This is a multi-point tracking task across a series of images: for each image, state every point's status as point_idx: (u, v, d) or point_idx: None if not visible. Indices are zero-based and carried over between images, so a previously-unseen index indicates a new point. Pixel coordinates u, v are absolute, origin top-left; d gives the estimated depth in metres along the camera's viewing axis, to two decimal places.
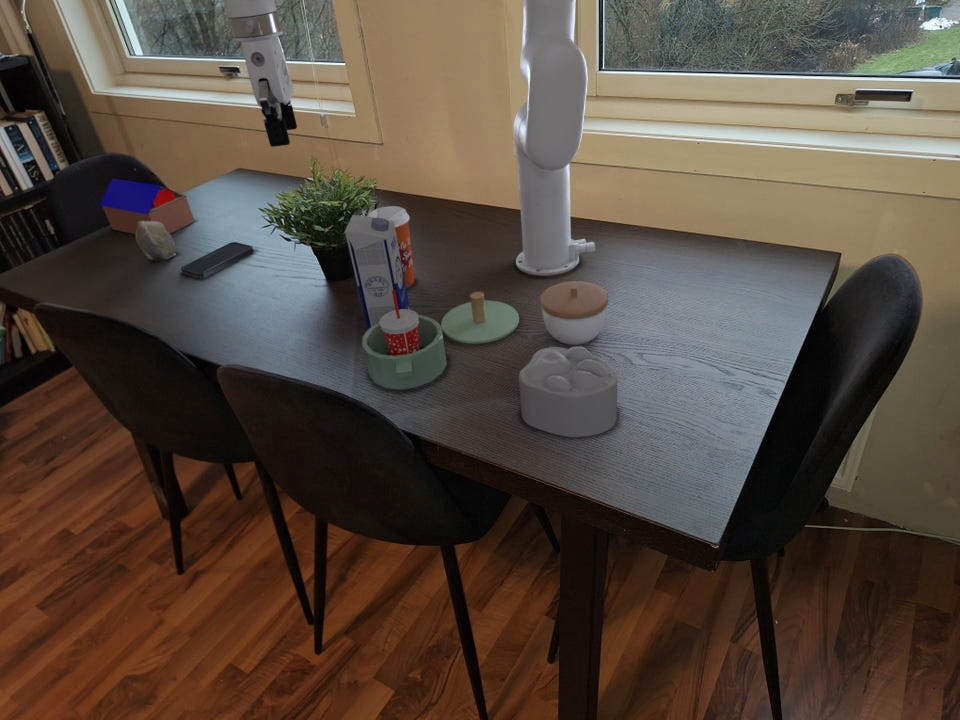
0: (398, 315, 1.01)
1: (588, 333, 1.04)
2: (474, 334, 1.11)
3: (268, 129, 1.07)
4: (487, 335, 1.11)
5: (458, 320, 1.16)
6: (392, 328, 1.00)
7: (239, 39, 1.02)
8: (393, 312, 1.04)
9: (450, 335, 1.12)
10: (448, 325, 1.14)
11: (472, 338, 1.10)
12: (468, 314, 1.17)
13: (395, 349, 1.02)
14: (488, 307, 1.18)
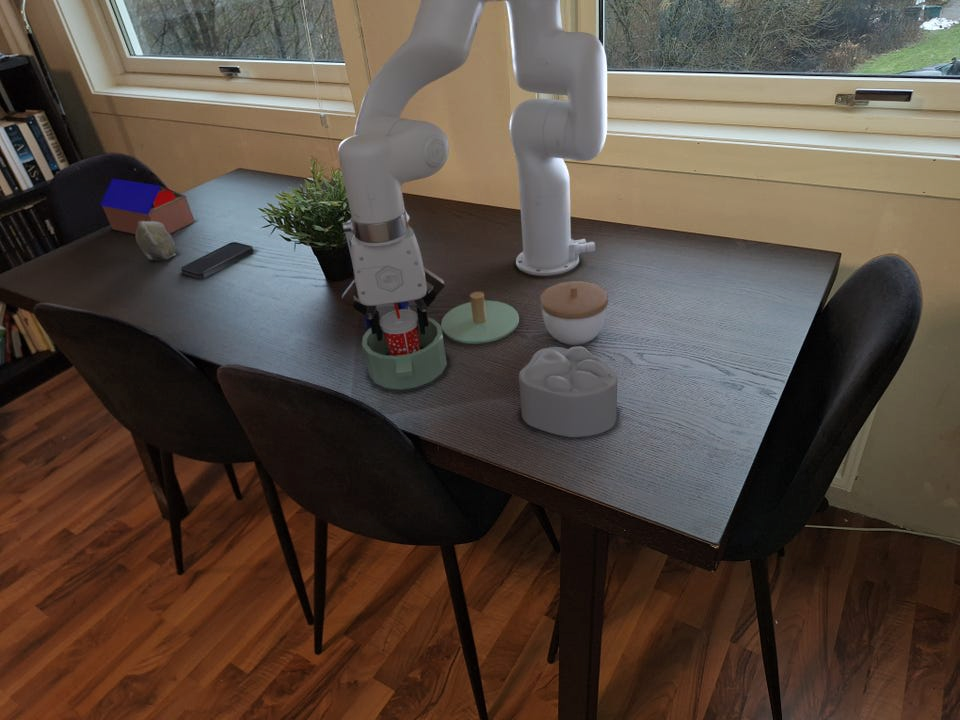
0: (398, 315, 1.01)
1: (588, 333, 1.04)
2: (474, 334, 1.11)
3: None
4: (487, 335, 1.11)
5: (458, 320, 1.16)
6: (392, 328, 1.00)
7: None
8: (393, 312, 1.04)
9: (450, 335, 1.12)
10: (448, 325, 1.14)
11: (472, 338, 1.10)
12: (468, 314, 1.17)
13: (395, 349, 1.02)
14: (488, 307, 1.18)
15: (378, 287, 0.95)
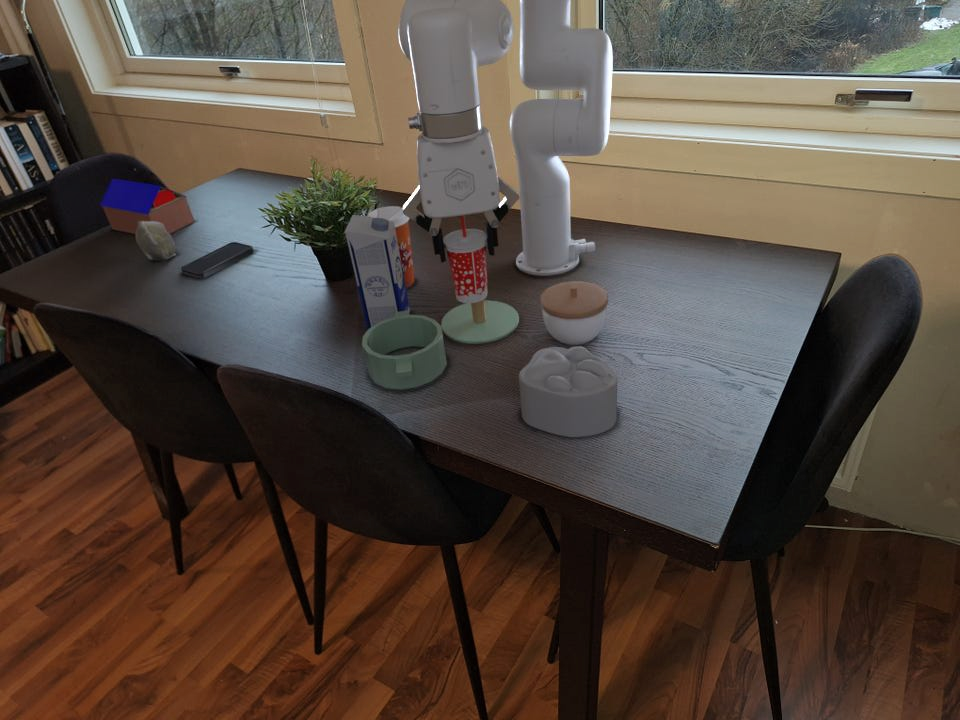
0: (464, 233, 0.89)
1: (588, 333, 1.04)
2: (474, 334, 1.11)
3: None
4: (487, 335, 1.11)
5: (458, 320, 1.16)
6: (458, 246, 0.88)
7: None
8: (457, 232, 0.92)
9: (450, 335, 1.12)
10: (448, 325, 1.14)
11: (472, 338, 1.10)
12: (468, 314, 1.17)
13: (460, 271, 0.90)
14: (488, 307, 1.18)
15: (446, 195, 0.83)
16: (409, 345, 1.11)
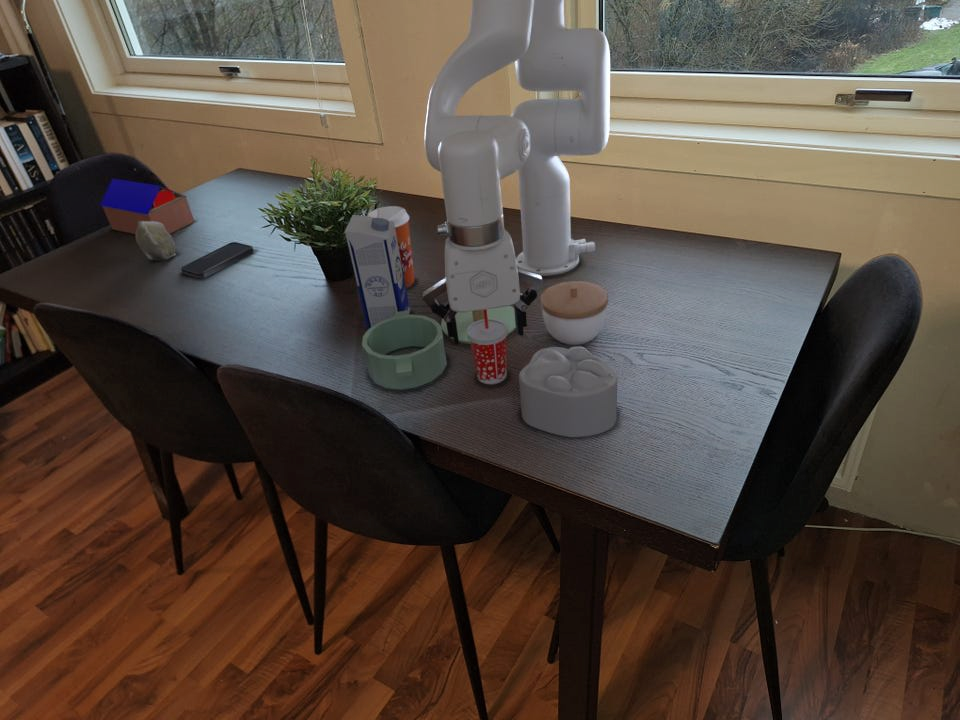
0: (487, 325, 0.97)
1: (588, 333, 1.04)
2: None
3: None
4: None
5: (458, 320, 1.16)
6: (481, 338, 0.95)
7: None
8: (479, 321, 0.99)
9: None
10: None
11: None
12: (468, 314, 1.17)
13: (482, 360, 0.98)
14: None
15: (471, 293, 0.91)
16: (409, 345, 1.11)
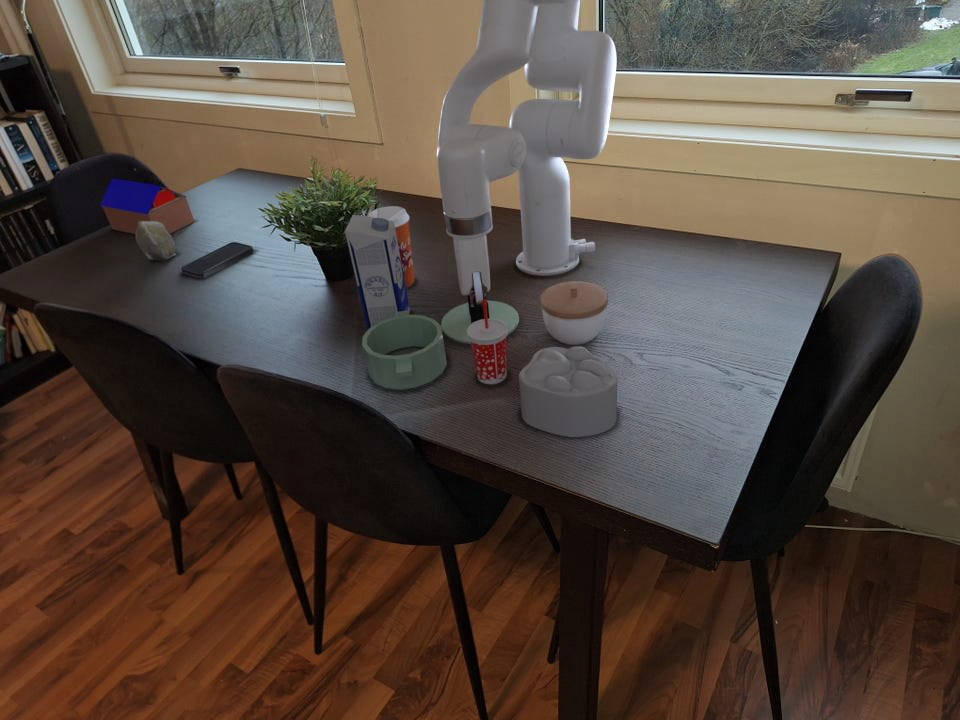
0: (487, 325, 0.97)
1: (588, 333, 1.04)
2: None
3: None
4: None
5: (458, 320, 1.16)
6: (481, 338, 0.95)
7: None
8: (479, 321, 0.99)
9: (450, 335, 1.12)
10: (448, 325, 1.14)
11: None
12: (468, 314, 1.17)
13: (482, 360, 0.98)
14: None
15: None
16: (409, 345, 1.11)
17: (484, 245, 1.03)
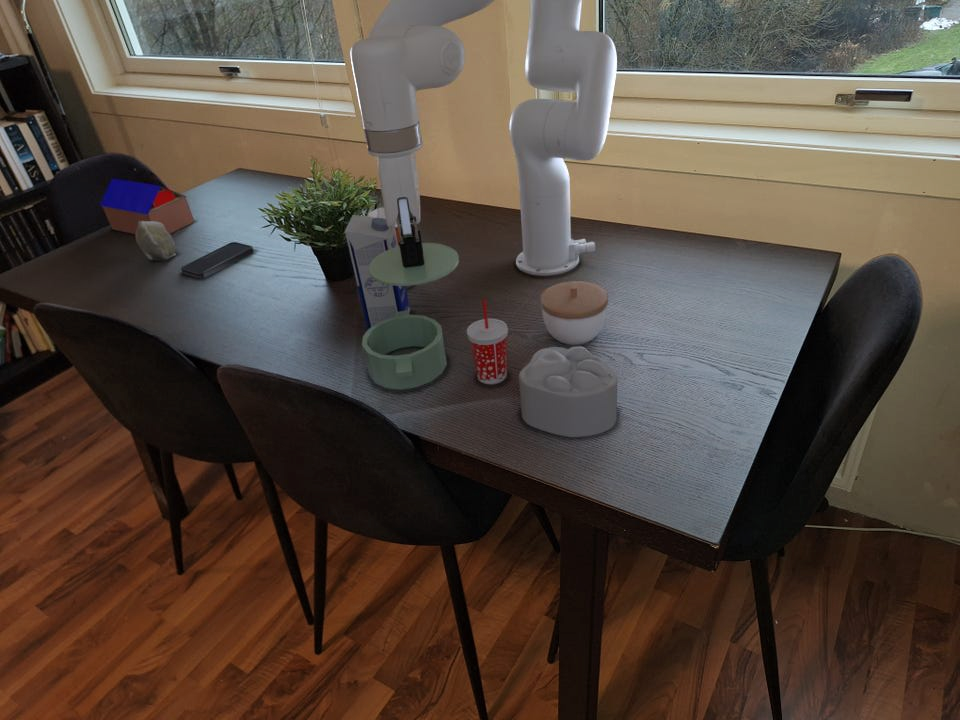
0: (487, 325, 0.97)
1: (588, 333, 1.04)
2: (404, 276, 0.96)
3: None
4: (419, 276, 0.95)
5: (389, 262, 1.00)
6: (481, 338, 0.95)
7: None
8: (479, 321, 0.99)
9: (377, 277, 0.96)
10: (377, 267, 0.99)
11: (401, 280, 0.95)
12: None
13: (482, 360, 0.98)
14: (425, 249, 1.03)
15: None
16: (409, 345, 1.11)
17: (410, 165, 0.87)
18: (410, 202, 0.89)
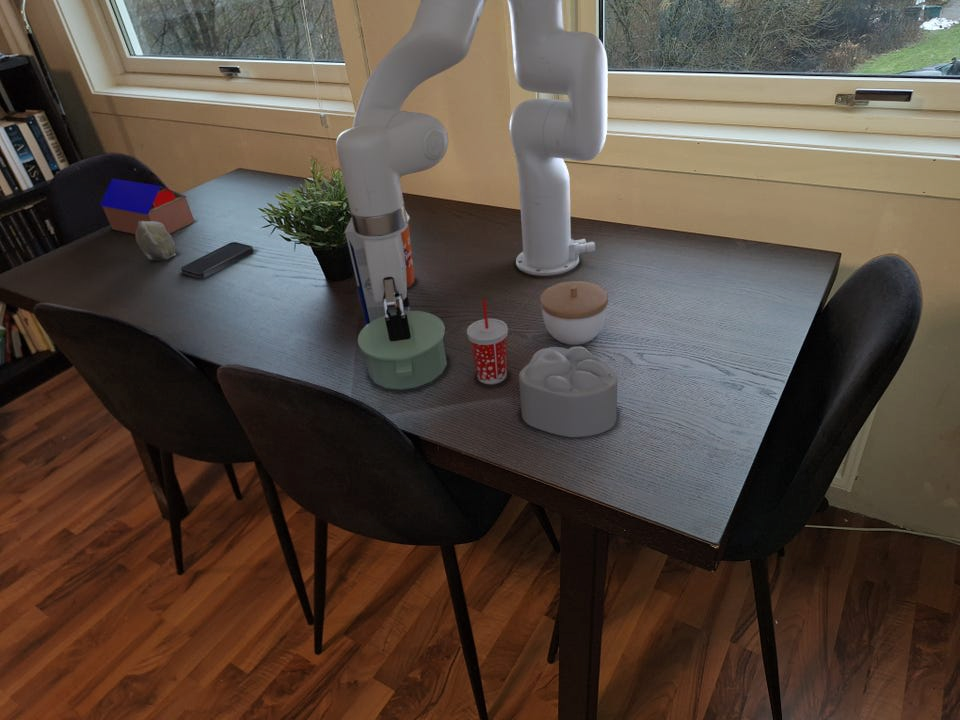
0: (487, 325, 0.97)
1: (588, 333, 1.04)
2: (392, 349, 0.99)
3: None
4: (406, 350, 0.99)
5: (377, 333, 1.03)
6: (481, 338, 0.95)
7: None
8: (479, 321, 0.99)
9: (365, 350, 1.00)
10: (365, 339, 1.02)
11: (389, 354, 0.98)
12: None
13: (482, 360, 0.98)
14: (413, 318, 1.06)
15: None
16: None
17: (395, 247, 0.90)
18: (396, 281, 0.92)
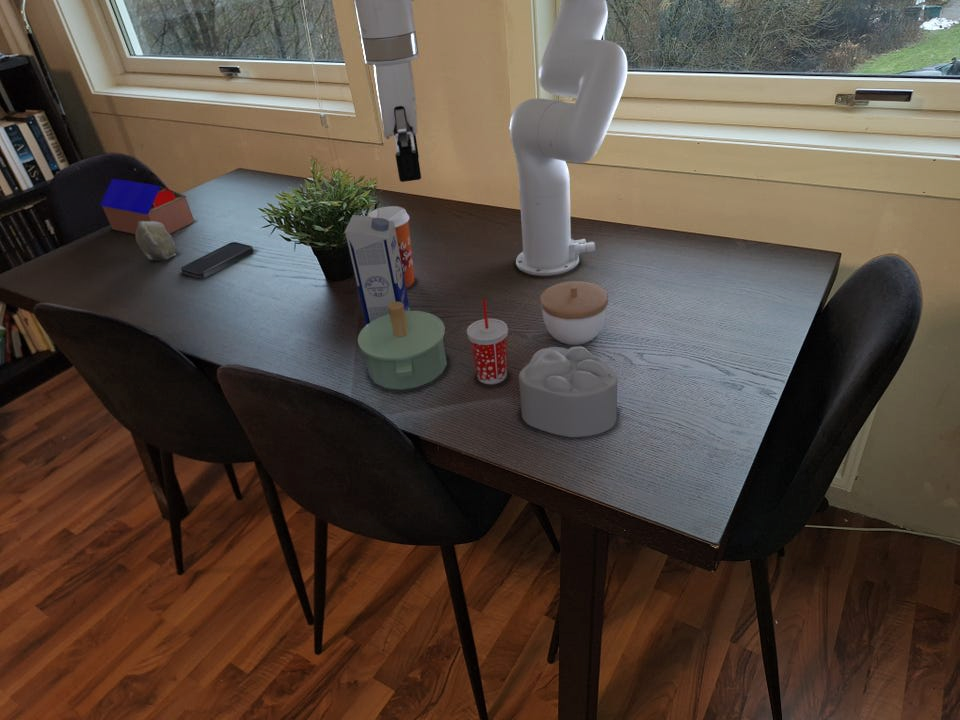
0: (487, 325, 0.97)
1: (588, 333, 1.04)
2: (392, 349, 0.99)
3: (413, 140, 1.04)
4: (406, 350, 0.99)
5: (377, 333, 1.03)
6: (481, 338, 0.95)
7: None
8: (479, 321, 0.99)
9: (365, 350, 1.00)
10: (365, 339, 1.02)
11: (389, 354, 0.98)
12: (389, 327, 1.05)
13: (482, 360, 0.98)
14: (413, 318, 1.06)
15: None
16: None
17: (407, 73, 0.89)
18: (407, 111, 0.91)
